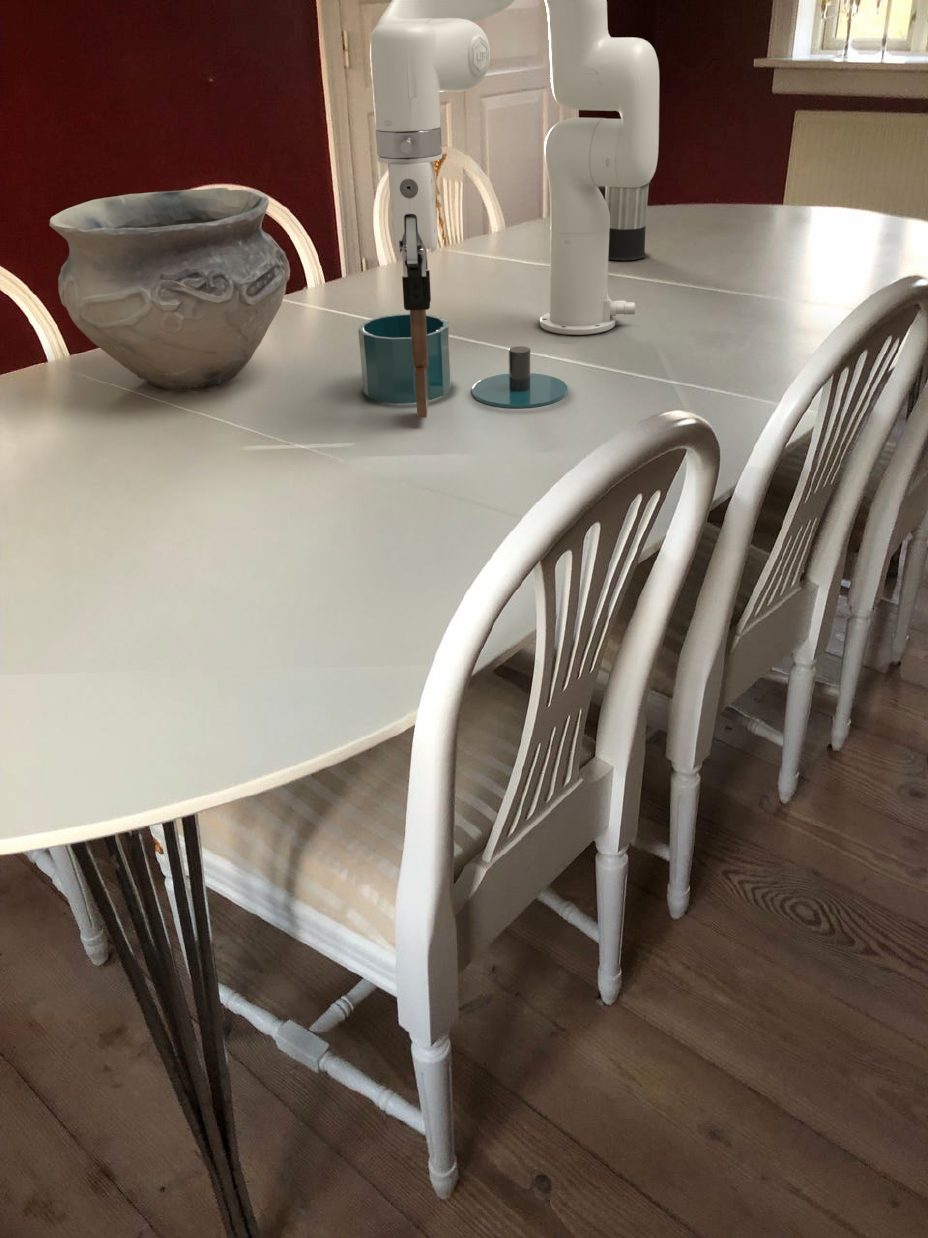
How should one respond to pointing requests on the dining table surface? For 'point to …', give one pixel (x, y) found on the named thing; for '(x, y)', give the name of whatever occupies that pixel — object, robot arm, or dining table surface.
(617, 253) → the milk frother
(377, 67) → the robot arm
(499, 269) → the dining table surface
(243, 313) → the clay pot
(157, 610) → the dining table surface
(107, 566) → the dining table surface
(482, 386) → the lid
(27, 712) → the dining table surface
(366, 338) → the pot
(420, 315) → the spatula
